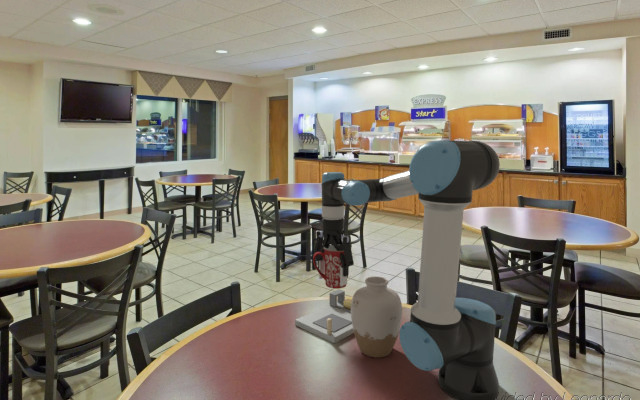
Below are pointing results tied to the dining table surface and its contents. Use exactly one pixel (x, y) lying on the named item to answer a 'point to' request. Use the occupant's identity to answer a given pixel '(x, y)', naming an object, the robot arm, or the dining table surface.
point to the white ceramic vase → (376, 317)
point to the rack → (329, 319)
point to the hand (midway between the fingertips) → (332, 281)
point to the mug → (330, 266)
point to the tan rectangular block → (347, 304)
